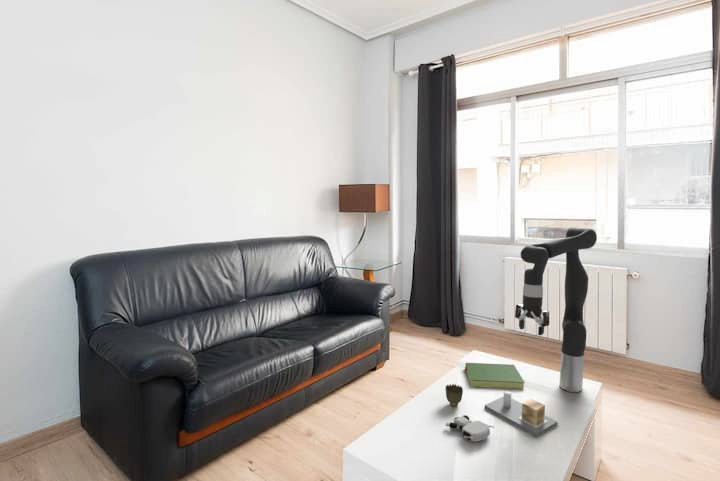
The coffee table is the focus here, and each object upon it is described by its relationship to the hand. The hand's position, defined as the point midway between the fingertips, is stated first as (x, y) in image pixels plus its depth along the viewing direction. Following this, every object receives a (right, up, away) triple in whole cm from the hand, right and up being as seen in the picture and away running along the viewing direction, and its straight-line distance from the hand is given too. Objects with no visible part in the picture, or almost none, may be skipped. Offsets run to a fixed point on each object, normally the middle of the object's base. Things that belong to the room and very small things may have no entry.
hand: (531, 331), depth 165 cm
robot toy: (-30, -36, -14) cm, 49 cm away
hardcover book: (-6, -31, +29) cm, 43 cm away
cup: (-31, -33, +5) cm, 46 cm away
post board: (-6, -34, -4) cm, 35 cm away
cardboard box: (-3, -33, -9) cm, 34 cm away
